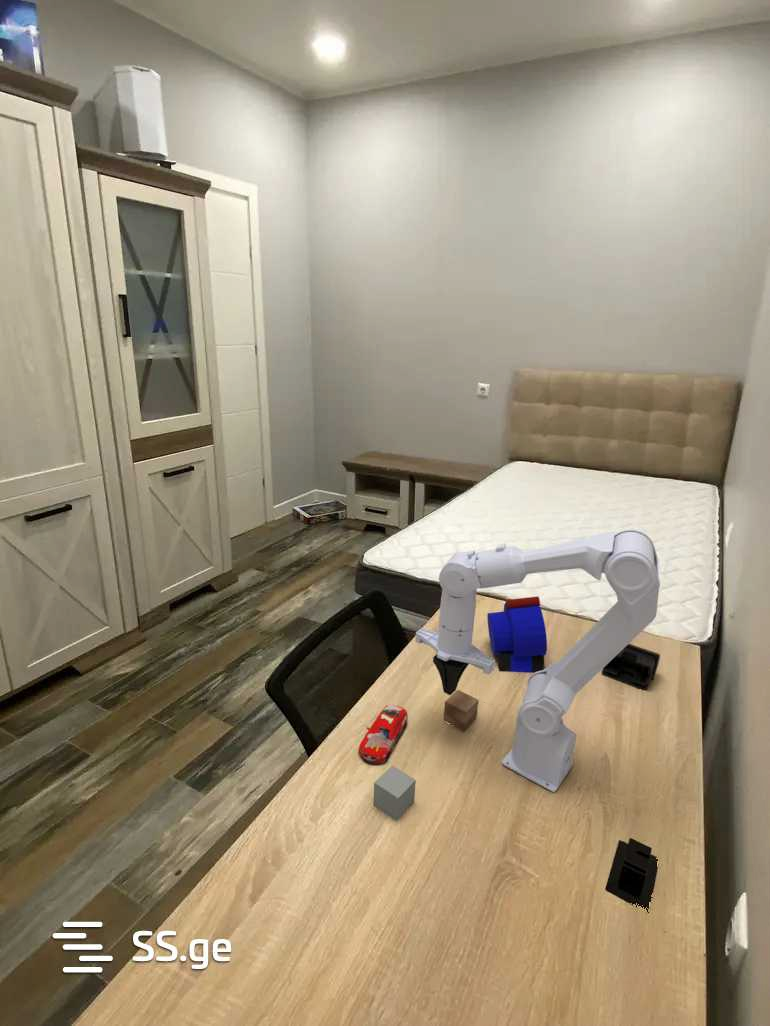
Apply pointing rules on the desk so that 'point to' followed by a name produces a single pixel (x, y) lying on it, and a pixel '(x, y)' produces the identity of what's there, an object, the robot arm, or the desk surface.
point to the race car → (383, 734)
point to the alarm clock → (519, 635)
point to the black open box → (633, 873)
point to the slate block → (394, 792)
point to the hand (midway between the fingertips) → (449, 690)
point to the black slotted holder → (633, 667)
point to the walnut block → (460, 710)
